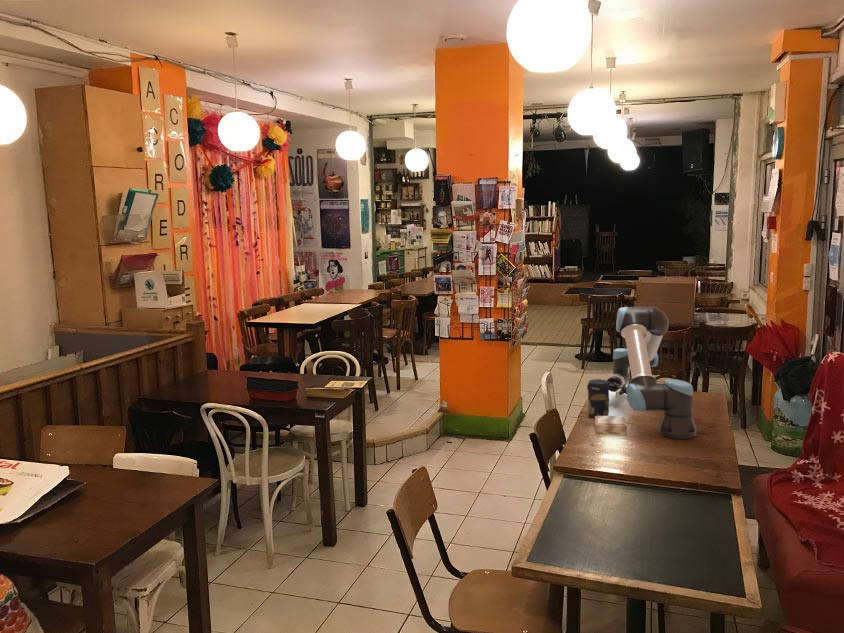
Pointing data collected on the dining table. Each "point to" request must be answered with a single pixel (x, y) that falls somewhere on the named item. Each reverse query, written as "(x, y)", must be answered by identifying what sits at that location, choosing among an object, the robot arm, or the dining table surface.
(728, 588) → the dining table surface
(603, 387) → the canister
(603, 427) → the stand
